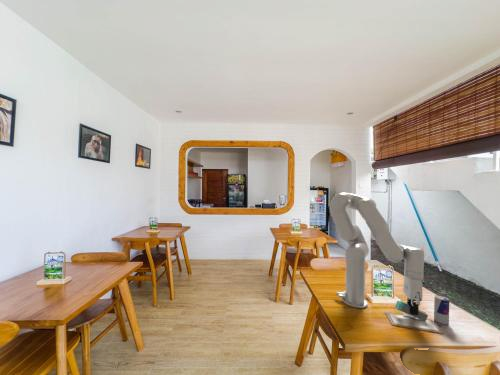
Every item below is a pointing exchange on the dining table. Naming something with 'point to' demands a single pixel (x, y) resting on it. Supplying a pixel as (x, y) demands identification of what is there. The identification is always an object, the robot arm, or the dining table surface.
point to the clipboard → (413, 322)
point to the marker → (406, 308)
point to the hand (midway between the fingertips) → (412, 312)
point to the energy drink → (441, 310)
